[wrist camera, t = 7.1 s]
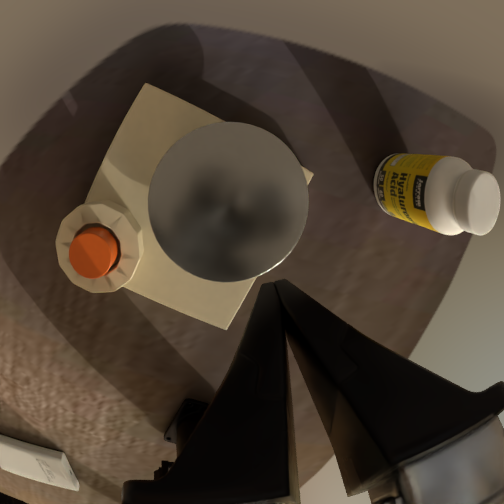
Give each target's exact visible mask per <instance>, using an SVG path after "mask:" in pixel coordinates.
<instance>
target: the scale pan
mask: <svg viewBox="0 0 504 504" xmlns="http://www.w3.org/2000/svg"><path fill="white" fill-rule="evenodd" d="M308 207H309V192H308V186H307V181H306V178H305V174H304V171H303V169H302V167H301V165H300V163H299V161H298V160H297V158H296V156H295V155H294V153H293V152H292V151H291V150H290V149H289V147H288V146H287V145H286V144H285V143H284V142H282V141H281V140H280V139H279V138H278V137H276V136H275V135H273V134H272V133H270V132H268V131H266V130H264V129H262V128H260V127H257V126H254V125H251V124H246V123H241V122H219V123H214V124H209V125H206V126H203V127H200V128H197V129H195V130H193V131H192V132H190V133H188V134H186V135H185V136H183V137H182V138H181V139H179V140H178V141H177V142H176V143H175V144H173V145H172V146H171V147H170V148H169V150H168V151H167V152H166V153H165V154H164V156H163V157H162V159H161V160H160V162H159V164H158V165H157V167H156V169H155V172H154V174H153V176H152V180H151V183H150V187H149V193H148V214H149V221H150V224H151V228H152V231H153V233H154V236H155V238H156V240H157V242H158V244H159V245H160V247H161V249H162V250H163V251H164V252H165V254H166V255H167V256H168V257H169V258H170V259H171V260H172V261H173V262H174V263H175V264H176V265H177V266H179V267H180V268H182V269H183V270H184V271H186V272H188V273H190V274H192V275H194V276H196V277H199V278H202V279H205V280H209V281H214V282H238V281H244V280H248V279H251V278H254V277H257V276H259V275H262V274H264V273H265V272H267V271H269V270H271V269H272V268H274V267H275V266H276V265H278V264H279V263H280V262H281V261H282V260H283V259H284V258H285V257H286V256H287V255H288V254H289V253H290V252H291V250H292V249H293V248H294V246H295V245H296V243H297V242H298V240H299V238H300V236H301V234H302V232H303V229H304V226H305V223H306V220H307V215H308Z"/></svg>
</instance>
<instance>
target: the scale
mask: <svg viewBox="0 0 504 504" xmlns="http://www.w3.org/2000/svg"><path fill="white" fill-rule="evenodd" d="M219 122H225V121H223V120H222V119H220V118H218V117H216V116H214V115H212V114H210V113H208V112H206V111H204V110H202V109H200V108H198V107H196V106H194V105H192V104H190V103H188V102H186V101H184V100H182V99H180V98H178V97H176V96H174V95H172V94H170V93H168V92H165V91H163V90H161V89H159V88H157V87H155V86H152V85H150V84H148V83H145V84H144V86H143V87H142V89H141V91H140V92H139V94H138V96H137V97H136V99H135V101H134V102H133V104H132V106H131V108H130V109H129V111H128V113H127V115H126V117H125V118H124V120H123V122H122V124H121V126H120V128H119V130H118V131H117V133H116V135H115V137H114V139H113V141H112V143H111V145H110V147H109V149H108V151H107V153H106V155H105V157H104V160H103V162H102V164H101V166H100V168H99V170H98V173H97V175H96V177H95V179H94V182H93V184H92V186H91V189H90V191H89V193H88V196H87V198H86V201H85V203H84V204H82V205H80V206H78V207H77V208H76V209H74V210H73V211H72V212H71V213H70V214H68V215H67V216H66V217H65V218H64V219H63V220H62V222H61V225H60V228H59V231H58V234H57V237H56V242H55V244H56V250H57V256H58V261H59V265H60V267H61V268H62V270H63V271H64V272H65V274H66V275H67V276H68V278H69V279H70V280H71V282H72V283H73V284H75V285H77V286H79V287H81V288H83V289H85V290H87V291H89V292H91V293H102V292H114V291H116V290H117V289H119V288H120V287H122V286H123V287H125V288H127V289H130V290H132V291H134V292H136V293H138V294H140V295H143V296H145V297H147V298H149V299H152V300H154V301H156V302H159V303H161V304H163V305H165V306H168V307H170V308H172V309H175V310H177V311H180V312H182V313H184V314H187V315H189V316H192V317H194V318H197V319H199V320H202V321H204V322H207V323H209V324H212V325H214V326H217V327H219V328H222V329H224V330H227V328H228V326H229V325H230V323H231V321H232V319H233V318H234V316H235V314H236V312H237V311H238V309H239V307H240V305H241V304H242V302H243V300H244V298H245V297H246V295H247V293H248V291H249V290H250V288H251V286H252V284H253V282H254V281H255V279H256V277H254V278H251V279H248V280H244V281H238V282H214V281H209V280H205V279H202V278H199V277H196V276H194V275H192V274H190V273H188V272H186V271H184V270H183V269H182V268H180V267H179V266H177V265H176V264H175V263H174V262H173V261H172V260H171V259H170V258H169V257H168V256H167V255H166V254H165V252H164V251H163V250H162V249H161V247H160V245H159V244H158V242H157V240H156V238H155V236H154V233H153V231H152V228H151V224H150V221H149V214H148V193H149V187H150V183H151V180H152V176H153V174H154V172H155V169H156V167H157V165H158V164H159V162H160V160H161V159H162V157H163V156H164V154H165V153H166V152H167V151H168V150H169V148H170V147H171V146H172V145H173V144H175V143H176V142H177V141H178V140H179V139H181V138H182V137H183V136H185V135H186V134H188V133H190V132H192V131H193V130H195V129H197V128H200V127H203V126H206V125H209V124H214V123H219ZM301 167H302V169H303V171H304V174H305V178H306V181H307V185H308V183H309V182H310V180H311V178H312V176H313V173H312V172H311V171H309V170H308V169H306V168H304V167H303V166H301ZM91 227H101V228H104V229H106V230H107V231H109V232H110V233H111V234H112V235H113V237H114V238H115V241H116V243H117V249H118V252H117V257H116V259H115V261H114V263H113V264H112V266H111V267H110V269H109V270H108V272H107V273H106V274H105V275H103V276H102V277H100V278H96V279H89V278H85V277H83V276H81V275H79V274H78V273H77V272H76V271H75V270H74V268H73V267H72V265H71V263H70V259H69V248H70V245H71V243H72V241H73V240H74V238H75V237H76V236H78V235H79V234H81V233H82V232H83V231H85V230H86V229H88V228H91Z"/></svg>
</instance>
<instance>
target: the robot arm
mask: <svg viewBox="0 0 504 504" xmlns="http://www.w3.org/2000/svg"><path fill="white" fill-rule="evenodd" d="M286 337H287V340H288V342H289V345H290V347H291V349H292V352H293V354H294V357H295V359H296V361H297V364H298V366H299V368H300V371H301V373H302V375H303V378H304V380H305V383H306V385H307V387H308V390H309V392H310V394H311V397H312V399H313V402H314V404H315V406H316V409H317V411H318V413H319V416H320V418H321V420H322V423H323V425H324V428H325V430H326V432H327V435H328V437H329V439H330V442H331V444H332V447H333V450H334V453H335V456H336V459H337V462H338V466H339V469H340V472H341V476H342V479H343V483H344V486H345V489H346V493H347V496H348V497H350V496H353V495H356V494H359V493H362V492H365V491H368V493H369V497H370V500H371V504H504V428H503V426H502V424H501V422H500V420H499V418H498V415H499V414H500V413H501V412H502V411H503V410H504V382H503V381H500V382H498V383H496V384H494V385H493V386H491V387H489V388H488V389H486V390H484V391H482V392H470V391H468V390H466V389H464V388H462V387H460V386H458V385H456V384H454V383H452V382H450V381H448V380H447V379H444V378H443V377H441V376H439V375H437V374H435V373H433V372H431V371H429V370H427V369H426V368H424V367H422V366H420V365H418V364H416V363H414V362H412V361H411V360H409V359H407V358H405V357H403V356H401V355H399V354H397V353H396V352H394V351H392V350H390V349H388V348H386V347H384V346H382V345H381V344H379V343H377V342H375V341H374V340H372V339H370V338H368V337H367V336H365V335H364V334H362V333H361V332H359V331H358V330H356V329H355V328H353V327H352V326H351V325H349V324H347V323H346V322H345V321H343V320H342V319H340V318H339V317H338V316H336V315H335V314H333V313H332V312H331V311H329V310H328V309H326V308H325V307H324V306H322V305H321V304H320V303H318V302H317V301H315V300H314V299H313V298H311V297H310V296H308V295H307V294H306V293H304V292H303V291H301V290H300V289H299V288H297V287H296V286H295V285H293V284H292V283H290V282H289V281H288V280H286V279H282V280H278V281H275V282H274V283H273V282H269V283H265V284H262V286H261V288H260V291H259V294H258V296H257V299H256V302H255V304H254V307H253V310H252V312H251V315H250V318H249V320H248V323H247V325H246V328H245V331H244V333H243V336H242V339H241V341H240V344H239V346H238V349H237V351H236V353H235V356H234V359H233V361H232V363H231V366H230V368H229V370H228V372H227V374H226V376H225V378H224V380H223V382H222V383H221V385H220V387H219V389H218V390H217V392H216V394H215V396H214V397H213V399H212V401H211V402H210V404H208V403H204V402H201V401H197V400H194V399H190V398H188V399H185V400H184V402H183V403H182V405H181V407H180V409H179V410H178V412H177V414H176V415H175V417H174V419H173V420H172V422H171V424H170V426H169V427H168V429H167V431H166V432H165V434H164V440H165V441H168V442H171V443H175V444H176V450H177V459H176V460H175V462H168V461H162V467H159V469H158V470H156V471H154V480H128V481H125V482H124V483H123V487H122V495H121V496H122V498H121V503H122V504H301V502H300V490H299V478H298V467H297V456H296V443H295V430H294V417H293V405H292V394H291V382H290V371H289V361H288V350H287V341H286ZM188 403H191V404H188ZM0 504H27V503H25V502H23V501H21V500H18V499H16V498H13V497H11V496H8V495H6V494H3V493H1V492H0Z"/></svg>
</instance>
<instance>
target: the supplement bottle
mask: <svg viewBox="0 0 504 504" xmlns="http://www.w3.org/2000/svg"><path fill="white" fill-rule="evenodd" d="M374 193H375V197H376V200H377V202H378V204H379V206H380V207H381V208H382V209H383V210H384V211H385V212H386V213H388V214H389V215H392V216H394V217H397V218H400V219H403V220H406V221H408V222H411V223H414V224H417V225H420V226H423V227H426V228H428V229H431V230H434V231H436V232H439V233H442V234H446V235H456V234H459V233H461V232H462V231H464V230H465V231H466V232H470V233H473V234H476V235H485V234H486V233H488V232H489V231H490V230H491V229H492V227H493V226H494V224H495V222H496V220H497V217H498V214H499V209H500V190H499V186H498V183H497V181H496V179H495V178H494V176H493V175H492V174H491V173H489V172H486V171H481V170H476V169H472V168H471V166H470V165H469V164H468V163H467V162H466V161H464V160H462V159H460V158H457V157H451V156H437V155H422V154H406V153H397V154H392V155H390V156H388V157H386V158H385V159H384V160H383V161H382V162H381V163H380V165H379V166H378V168H377V170H376V173H375V176H374Z"/></svg>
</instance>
